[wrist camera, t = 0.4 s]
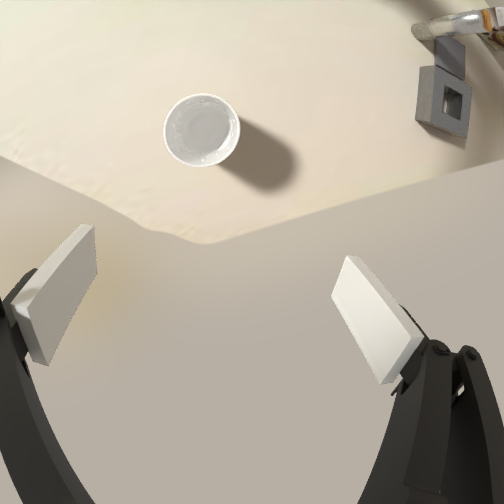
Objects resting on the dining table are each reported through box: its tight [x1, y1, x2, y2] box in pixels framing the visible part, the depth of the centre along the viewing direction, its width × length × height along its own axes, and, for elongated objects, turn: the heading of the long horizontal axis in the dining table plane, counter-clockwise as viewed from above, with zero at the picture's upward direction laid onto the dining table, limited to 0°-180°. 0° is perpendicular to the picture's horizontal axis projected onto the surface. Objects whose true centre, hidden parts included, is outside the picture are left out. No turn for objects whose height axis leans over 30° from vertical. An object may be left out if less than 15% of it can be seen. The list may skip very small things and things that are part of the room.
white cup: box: [164, 94, 240, 168], centre depth 31 cm, size 8×8×10 cm
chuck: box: [415, 66, 472, 138], centre depth 34 cm, size 10×10×4 cm
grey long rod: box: [411, 10, 492, 41], centre depth 22 cm, size 3×3×17 cm
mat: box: [435, 36, 465, 80], centre depth 31 cm, size 8×8×1 cm
